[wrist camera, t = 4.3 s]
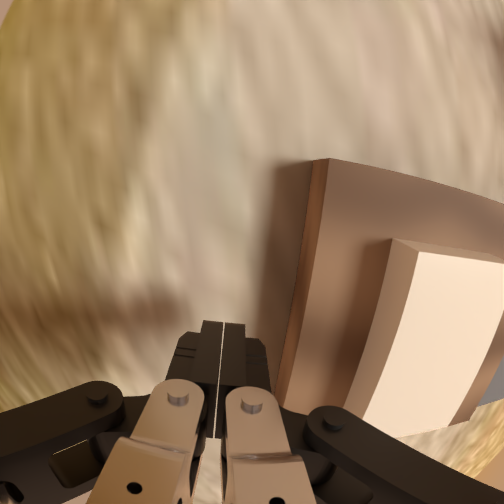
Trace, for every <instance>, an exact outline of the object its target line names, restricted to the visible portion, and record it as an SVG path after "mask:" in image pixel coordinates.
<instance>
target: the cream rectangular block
mask: <svg viewBox="0 0 504 504" xmlns="http://www.w3.org/2000/svg"><path fill="white" fill-rule="evenodd" d="M503 311H504V260H503V259H501V258H498V257H496V256H494V255H492V254H488V253H483V252H477V251H471V250H465V249H459V248H453V247H447V246H441V245H435V244H428V243H422V242H415V241H409V240H402V239H395V238H393V239H392V244H391V249H390V254H389V259H388V263H387V268H386V272H385V276H384V280H383V284H382V288H381V292H380V296H379V300H378V304H377V308H376V311H375V315H374V318H373V322H372V325H371V329H370V332H369V335H368V338H367V342H366V345H365V348H364V351H363V354H362V357H361V360H360V363H359V366H358V369H357V372H356V375H355V377H354V380H353V383H352V386H351V388H350V391H349V394H348V396H347V399H346V401H345V404H344V407H343V409H345V410H347V411H349V412H351V413H352V414H354V415H356V416H357V417H359V418H360V419H362V420H364V421H365V422H367V423H369V424H370V425H372V426H374V427H376V428H377V429H379V430H381V431H382V432H384V433H386V434H388V435H389V436H391V437H393V438H398V437H403V436H409V435H414V434H418V433H423V432H427V431H432V430H436V429H440V428H444V427H448V425H449V423H450V422H451V420H452V419H453V417H454V415H455V414H456V412H457V410H458V409H459V407H460V405H461V403H462V402H463V400H464V398H465V396H466V394H467V393H468V391H469V389H470V387H471V385H472V383H473V381H474V379H475V377H476V375H477V373H478V371H479V369H480V367H481V365H482V363H483V360H484V358H485V356H486V354H487V352H488V349H489V347H490V345H491V342H492V340H493V337H494V335H495V332H496V330H497V327H498V325H499V322H500V319H501V316H502V314H503Z"/></svg>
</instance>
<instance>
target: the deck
mask: <svg viewBox="0 0 504 504" xmlns="http://www.w3.org/2000/svg"><path fill="white" fill-rule="evenodd" d="M393 238H395V239H402V240H409V241H415V242H422V243H428V244H435V245H441V246H447V247H453V248H459V249H465V250H471V251H477V252H483V253H488V254H492V255H494V256H496V257H498V258H501V259H503V260H504V204H502V203H499V202H496V201H494V200H491V199H488V198H485V197H482V196H479V195H476V194H473V193H470V192H466V191H463V190H460V189H457V188H454V187H450V186H447V185H443V184H440V183H436V182H433V181H429V180H425V179H422V178H418V177H414V176H410V175H406V174H402V173H398V172H394V171H390V170H385V169H381V168H377V167H372V166H367V165H363V164H358V163H353V162H348V161H343V160H337V159H332V158H326V159H319V160H313V167H312V175H311V183H310V190H309V198H308V205H307V212H306V219H305V226H304V233H303V239H302V246H301V252H300V259H299V265H298V271H297V277H296V283H295V289H294V294H293V300H292V306H291V311H290V317H289V322H288V328H287V333H286V338H285V343H284V348H283V353H282V358H281V363H280V368H279V373H278V378H277V383H276V387H275V392H274V397H275V398H276V400H277V402H278V404H279V405H280V406H281V407H283V408H285V409H287V410H289V411H292V412H296V413H300V414H304V415H309V413H310V412H311V411H312V410H313V409H315V408H317V407H320V406H327V405H329V406H337V407H341V408H343V407H344V404H345V401H346V399H347V396H348V394H349V391H350V388H351V386H352V383H353V380H354V377H355V375H356V372H357V369H358V366H359V363H360V360H361V357H362V354H363V351H364V348H365V345H366V342H367V338H368V335H369V332H370V329H371V325H372V322H373V318H374V315H375V311H376V308H377V304H378V300H379V296H380V292H381V288H382V284H383V280H384V276H385V272H386V268H387V263H388V259H389V254H390V249H391V244H392V239H393ZM503 356H504V311H503V314H502V316H501V319H500V322H499V325H498V327H497V330H496V332H495V335H494V337H493V340H492V342H491V345H490V347H489V349H488V352H487V354H486V356H485V358H484V360H483V363H482V365H481V367H480V369H479V371H478V373H477V375H476V377H475V379H474V381H473V383H472V385H471V387H470V389H469V391H468V393H467V394H466V396H465V398H464V400H463V402H462V403H461V405H460V407H459V409H458V410H457V412H456V414H455V415H454V417H453V419H452V420H451V422H450V423H449V425H448V426H450V425H454V424H458V423H461V422H465V421H468V420H469V419H470V417H471V415H472V414H473V412H474V411H475V409H476V407H477V406H478V404H479V402H480V400H481V399H482V397H483V395H484V393H485V391H486V390H487V388H488V386H489V384H490V382H491V380H492V378H493V376H494V374H495V372H496V370H497V368H498V366H499V364H500V362H501V360H502V358H503Z"/></svg>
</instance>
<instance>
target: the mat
mask: <svg viewBox="0 0 504 504" xmlns="http://www.w3.org/2000/svg"><path fill="white" fill-rule="evenodd" d="M503 398H504V356H503V358H502V360H501V362H500V364H499V366H498V368H497V370H496V372H495V374H494V376H493V378H492V380H491V382H490V384H489V386H488V388H487V390H486V391H485V393H484V395H483V397H482V399H481V400H480V402H479V404H478V406H481V405H484V404H488V403H491V402H494V401H497V400H500V399H503ZM478 406H477V407H478Z"/></svg>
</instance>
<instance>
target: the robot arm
mask: <svg viewBox="0 0 504 504" xmlns="http://www.w3.org/2000/svg"><path fill="white" fill-rule="evenodd" d="M222 332H223V322H216V321H207V320H203V324H202V328H201V332H200V333H195V332H186V333H185V334H184V335H183V336H181V337H180V338H179V340H178V343H177V346H176V349H175V352H174V356H173V358H172V361H171V364H170V367H169V370H168V373H167V376H166V379H165V381H163V382H161V383H159V384H158V385H157V386H155V388H154V389H153V391H152V393H151V394H149V395H145V396H132V397H123V395H122V392H121V391H120V389H119V388H118V387H117V386H115V385H113V384H111V383H109V382H105V381H91V382H87V383H84V384H82V385H79V386H77V387H74V388H71V389H69V390H66V391H63V392H60V393H58V394H55V395H52V396H49V397H47V398H44V399H41V400H38V401H35V402H32V403H29V404H26V405H23V406H20V407H17V408H14V409H11V410H8V411H5V412H2V413H0V504H62V503H64V502H66V501H69V500H71V499H73V498H75V497H77V496H80V495H82V494H84V493H86V492H88V491H90V490H92V489H93V490H92V492H91V494H90V496H89V498H88V500H87V502H86V504H192V503H193V498H194V493H195V488H196V484H197V479H198V475H199V470H200V465H201V461H202V453H203V451H204V448H205V441H206V437H207V438H213V429H214V418H215V408H216V397H217V387H218V377H219V366H220V355H221V344H222ZM215 438H218V439H221V453H220V472H221V490H222V504H504V492H503V491H500V490H498V489H495V488H493V487H491V486H488V485H486V484H484V483H481V482H479V481H477V480H475V479H473V478H471V477H468V476H466V475H464V474H462V473H460V472H458V471H456V470H454V469H452V468H449V467H447V466H445V465H443V464H441V463H439V462H437V461H436V460H434V459H432V458H430V457H428V456H426V455H424V454H422V453H420V452H418V451H416V450H415V449H413V448H411V447H409V446H407V445H405V444H404V443H402V442H400V441H398V440H396V439H395V438H393V437H391V436H389V435H388V434H386V433H384V432H382V431H381V430H379V429H377V428H376V427H374V426H372V425H370V424H369V423H367V422H365V421H364V420H362V419H360V418H359V417H357V416H356V415H354V414H352V413H351V412H349V411H347V410H345V409H343V408H341V407H337V406H329V405H327V406H320V407H317V408H315V409H313V410H312V411H311V412H310V413H309V415H304V414H300V413H296V412H292V411H289V410H287V409H285V408H283V407H281V406H280V405H279V404H278V402H277V400H276V398H275V397H274V396H273V395H272V394H271V387H270V379H269V372H268V365H267V358H266V349H265V346H264V345H263V344H262V343H261V341H260V340H259V339H254V338H245V324H236V323H226V322H225V329H224V339H223V349H222V359H221V369H220V380H219V391H218V404H217V417H216V430H215ZM86 439H87V440H86ZM84 440H86V441H84ZM82 441H84V442H82ZM80 442H82V443H80ZM77 443H80V444H77ZM75 444H77V445H75ZM73 445H75V446H73ZM71 446H73V447H71ZM68 447H70V448H68ZM66 448H68V449H66ZM63 449H66V450H63ZM61 450H63V451H61ZM59 451H61V452H59ZM56 452H59V453H56ZM54 453H56V454H54ZM53 454H54V455H53Z"/></svg>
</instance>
